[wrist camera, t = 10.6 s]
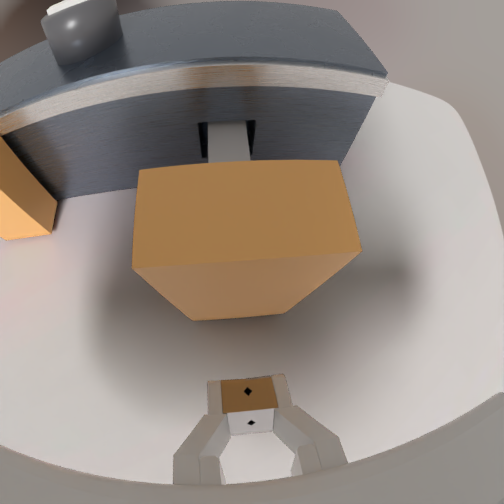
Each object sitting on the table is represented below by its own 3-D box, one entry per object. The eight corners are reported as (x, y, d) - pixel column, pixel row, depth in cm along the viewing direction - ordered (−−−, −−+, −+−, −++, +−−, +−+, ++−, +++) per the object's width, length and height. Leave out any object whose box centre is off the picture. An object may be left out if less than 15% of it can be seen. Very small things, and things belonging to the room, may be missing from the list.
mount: (335, 181, 19) (391, 77, 10) (-18, 220, 16) (-82, 165, 7) (310, 103, 22) (337, 10, 13) (7, 146, 19) (-36, 86, 10)
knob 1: (51, 234, 16) (-39, 149, 7) (6, 240, 16) (-78, 174, 6) (91, 95, 21) (61, 12, 11) (50, 107, 20) (14, 34, 11)
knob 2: (284, 313, 16) (362, 251, 6) (192, 320, 15) (131, 268, 6) (256, 117, 20) (270, 1, 11) (190, 121, 20) (178, 4, 10)
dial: (112, 52, 10) (98, -3, 7) (45, 73, 9) (25, 26, 6) (129, 22, 11) (121, -24, 8) (70, 39, 11) (57, -2, 8)
